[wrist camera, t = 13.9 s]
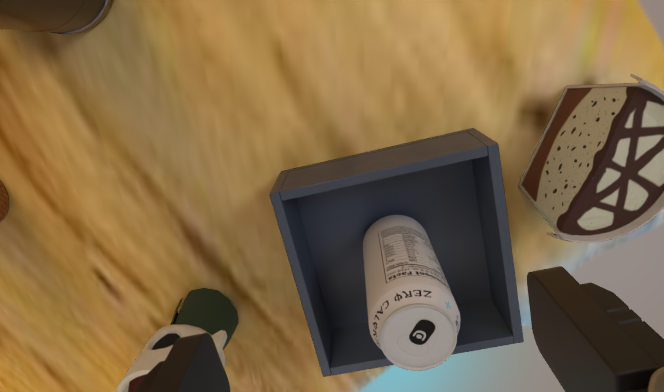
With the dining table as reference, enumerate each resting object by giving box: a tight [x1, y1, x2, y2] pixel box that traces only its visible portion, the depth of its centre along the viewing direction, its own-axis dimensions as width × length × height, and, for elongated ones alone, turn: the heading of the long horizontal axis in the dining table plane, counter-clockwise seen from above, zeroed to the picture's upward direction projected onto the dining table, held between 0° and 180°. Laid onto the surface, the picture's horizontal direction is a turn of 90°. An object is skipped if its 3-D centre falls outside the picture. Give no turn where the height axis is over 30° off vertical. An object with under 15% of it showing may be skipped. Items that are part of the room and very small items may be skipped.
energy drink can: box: [363, 215, 461, 371], centre depth 35 cm, size 6×6×15 cm
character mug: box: [115, 288, 238, 392], centre depth 40 cm, size 11×7×13 cm, turn 131°
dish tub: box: [270, 128, 524, 377], centre depth 40 cm, size 18×18×7 cm
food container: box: [518, 74, 664, 243], centre depth 35 cm, size 12×6×10 cm, turn 162°
